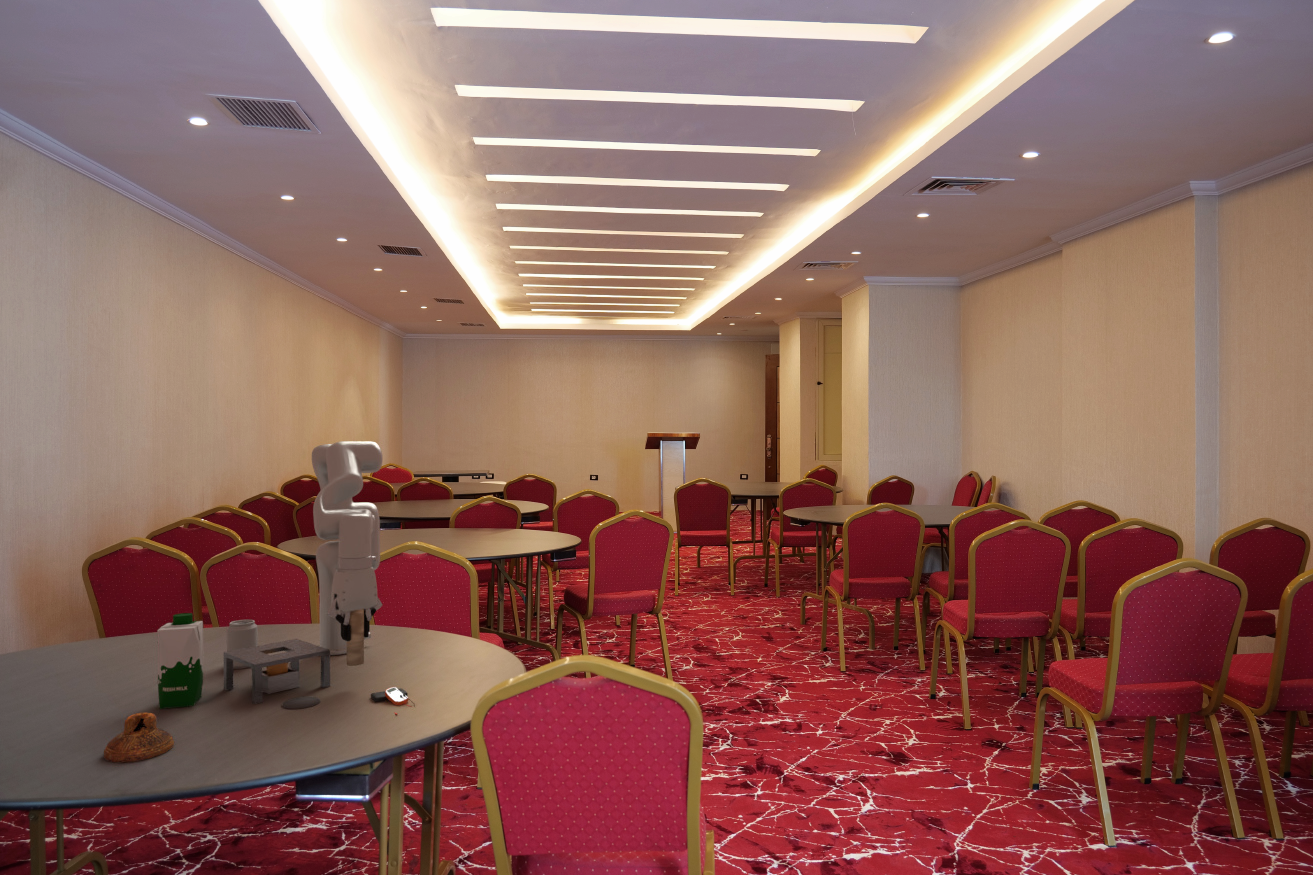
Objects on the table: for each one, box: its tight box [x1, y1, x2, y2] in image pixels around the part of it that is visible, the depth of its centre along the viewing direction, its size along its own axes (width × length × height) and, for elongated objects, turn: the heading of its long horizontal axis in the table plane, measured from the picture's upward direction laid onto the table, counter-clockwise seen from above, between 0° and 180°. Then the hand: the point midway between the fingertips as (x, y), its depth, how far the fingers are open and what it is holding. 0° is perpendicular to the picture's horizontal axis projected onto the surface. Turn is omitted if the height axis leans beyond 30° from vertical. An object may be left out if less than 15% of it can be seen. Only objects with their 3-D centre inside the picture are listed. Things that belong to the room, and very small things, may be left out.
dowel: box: [346, 609, 365, 667], centre depth 203 cm, size 4×4×16 cm
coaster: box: [281, 696, 321, 710], centre depth 191 cm, size 8×8×1 cm
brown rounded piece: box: [103, 712, 175, 763], centre depth 162 cm, size 12×12×7 cm
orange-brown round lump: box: [265, 662, 289, 676], centre depth 204 cm, size 5×5×4 cm
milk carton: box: [157, 612, 204, 710], centre depth 192 cm, size 9×9×20 cm
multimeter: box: [370, 686, 416, 716], centre depth 191 cm, size 18×12×3 cm, turn 28°
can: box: [226, 619, 259, 670], centre depth 225 cm, size 8×8×12 cm
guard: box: [223, 638, 331, 705], centre depth 204 cm, size 18×18×9 cm
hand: (355, 637), depth 203 cm, fingers closed on dowel, 4 cm apart
